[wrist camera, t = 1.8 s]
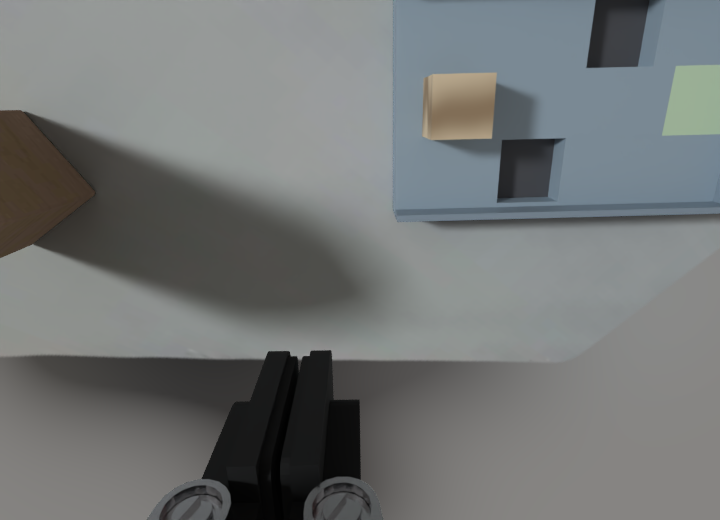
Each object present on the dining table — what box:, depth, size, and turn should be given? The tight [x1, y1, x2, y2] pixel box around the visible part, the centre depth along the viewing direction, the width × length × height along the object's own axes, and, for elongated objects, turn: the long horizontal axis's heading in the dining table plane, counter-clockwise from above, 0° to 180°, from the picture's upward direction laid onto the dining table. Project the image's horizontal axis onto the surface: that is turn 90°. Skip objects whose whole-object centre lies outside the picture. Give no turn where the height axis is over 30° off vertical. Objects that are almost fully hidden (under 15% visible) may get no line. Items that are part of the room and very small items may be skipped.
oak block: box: [422, 72, 497, 140], centre depth 37 cm, size 5×5×5 cm
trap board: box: [393, 0, 720, 222], centre depth 39 cm, size 20×32×5 cm, turn 91°
